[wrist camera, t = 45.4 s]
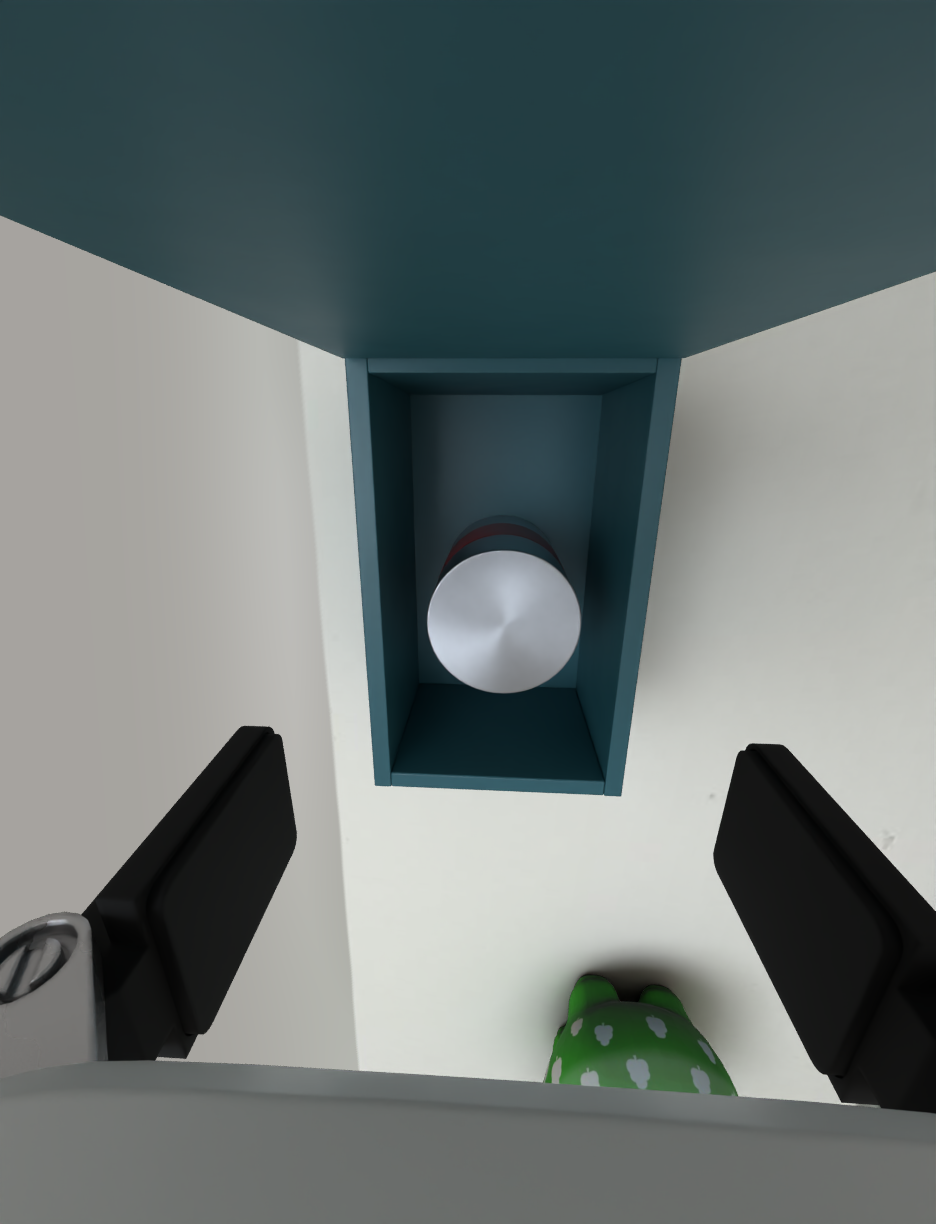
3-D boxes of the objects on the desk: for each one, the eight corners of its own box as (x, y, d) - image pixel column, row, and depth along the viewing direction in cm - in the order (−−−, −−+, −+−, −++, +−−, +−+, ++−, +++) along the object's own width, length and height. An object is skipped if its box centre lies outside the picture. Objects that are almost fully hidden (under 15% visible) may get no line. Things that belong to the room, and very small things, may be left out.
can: (479, 493, 27) (472, 519, 19) (578, 549, 28) (613, 597, 19) (428, 590, 29) (400, 652, 21) (520, 639, 30) (530, 718, 21)
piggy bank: (510, 1071, 46) (516, 1355, 31) (551, 936, 39) (581, 1214, 25) (660, 1096, 46) (734, 1391, 31) (725, 965, 39) (852, 1259, 25)
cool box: (585, 693, 32) (621, 796, 23) (409, 687, 32) (374, 786, 23) (616, 379, 26) (683, 346, 16) (397, 379, 26) (343, 347, 17)
